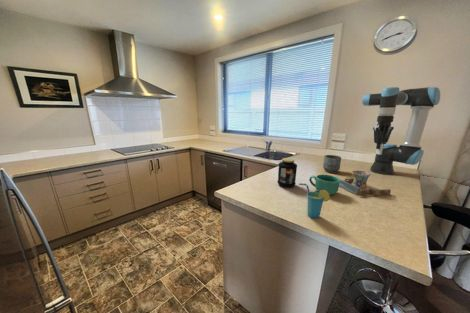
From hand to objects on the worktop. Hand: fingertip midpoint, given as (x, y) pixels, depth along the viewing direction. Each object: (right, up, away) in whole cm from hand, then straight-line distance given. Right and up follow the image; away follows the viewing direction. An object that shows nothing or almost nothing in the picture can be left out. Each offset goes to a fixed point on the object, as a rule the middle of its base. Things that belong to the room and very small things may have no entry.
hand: (378, 154), depth 113 cm
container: (-55, -21, +8) cm, 60 cm away
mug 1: (-36, -23, -1) cm, 43 cm away
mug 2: (-11, -22, +3) cm, 25 cm away
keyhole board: (-10, -22, +3) cm, 25 cm away
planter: (-10, -14, +37) cm, 41 cm away
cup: (-53, -30, -27) cm, 67 cm away
